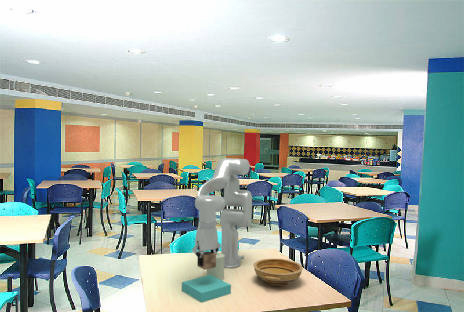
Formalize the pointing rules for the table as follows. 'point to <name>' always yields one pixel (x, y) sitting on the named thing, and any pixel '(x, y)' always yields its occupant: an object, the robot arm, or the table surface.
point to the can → (217, 267)
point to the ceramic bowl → (277, 271)
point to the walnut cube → (208, 260)
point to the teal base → (206, 288)
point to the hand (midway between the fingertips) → (206, 264)
